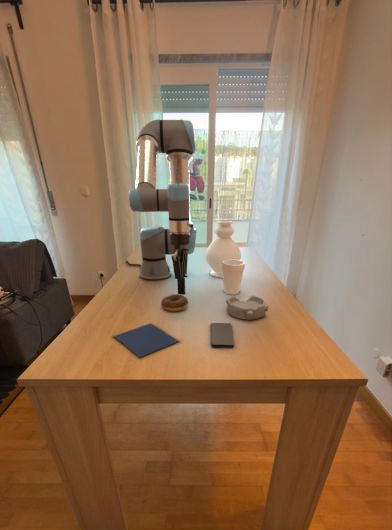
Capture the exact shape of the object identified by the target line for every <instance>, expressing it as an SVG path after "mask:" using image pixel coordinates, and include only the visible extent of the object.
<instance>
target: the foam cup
mask: <svg viewBox="0 0 392 530" xmlns="http://www.w3.org/2000/svg"><path fill="white" fill-rule="evenodd" d="M245 267H246V261H244V260H241V259H240V260H237V259H228V260H224V261H223V262H222V268H223V278H222V280H223V291H224V293H225V294H227V295H238V294H239V293H240V288H241V283H242V279H243V275H244V270H245Z"/></svg>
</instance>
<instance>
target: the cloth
mask: <svg viewBox="0 0 392 530" xmlns="http://www.w3.org/2000/svg"><path fill="white" fill-rule="evenodd" d="M113 338H114V339H115V340H117V342H119V343H120V344H122V345H123V346H124V347H125V348H126V349H128V350H129V351H130V352H131V353H132V354H134V356H136V357H137V358H139V359H141V358H144V357H146V356H148V355H150V354H153V353H155V352H159V351H160V350H163V349H165V348H167V347H170V346H173V345H175V344H177V343H179V340H178V339H176V338H174V337H173V336H171V335H169V334H168V333H166V332H165V331H164V330H162V329H160V328H158V326H156V325H154V324H152V323H151V322H150V323H148V324H145V325H142V326H139V327H137V328H133V329H131V330H128V331H126V332H122V333H120V334H116V335H113Z"/></svg>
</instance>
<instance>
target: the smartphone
mask: <svg viewBox="0 0 392 530" xmlns="http://www.w3.org/2000/svg"><path fill="white" fill-rule="evenodd" d="M210 346H211V347H213V348H233V347H234V346H235V343H234V336H233V330H232V323H231V322H211V323H210Z"/></svg>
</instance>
